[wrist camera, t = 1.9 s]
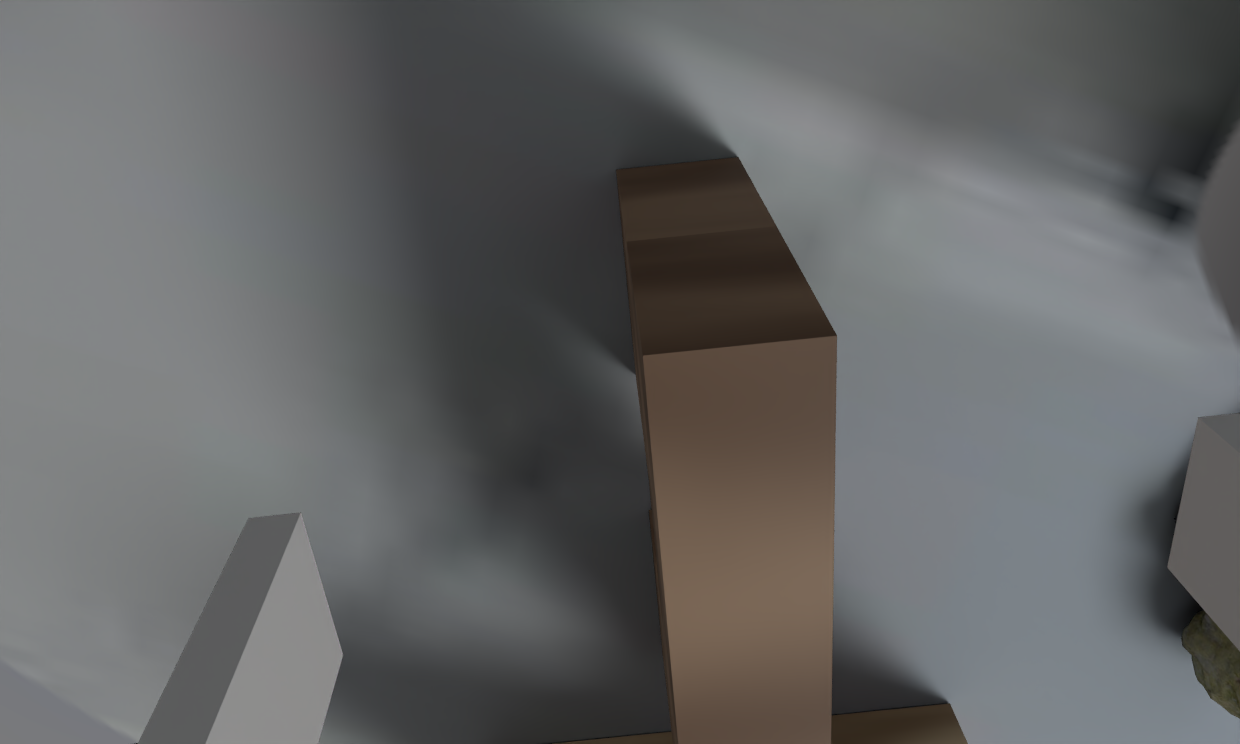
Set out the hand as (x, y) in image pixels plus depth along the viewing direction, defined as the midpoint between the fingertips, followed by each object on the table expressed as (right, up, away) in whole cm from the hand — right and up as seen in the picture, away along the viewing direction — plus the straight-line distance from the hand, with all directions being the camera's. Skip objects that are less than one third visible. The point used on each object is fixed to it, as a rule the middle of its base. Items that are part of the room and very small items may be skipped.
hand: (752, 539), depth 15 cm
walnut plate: (0, +1, +13) cm, 13 cm away
